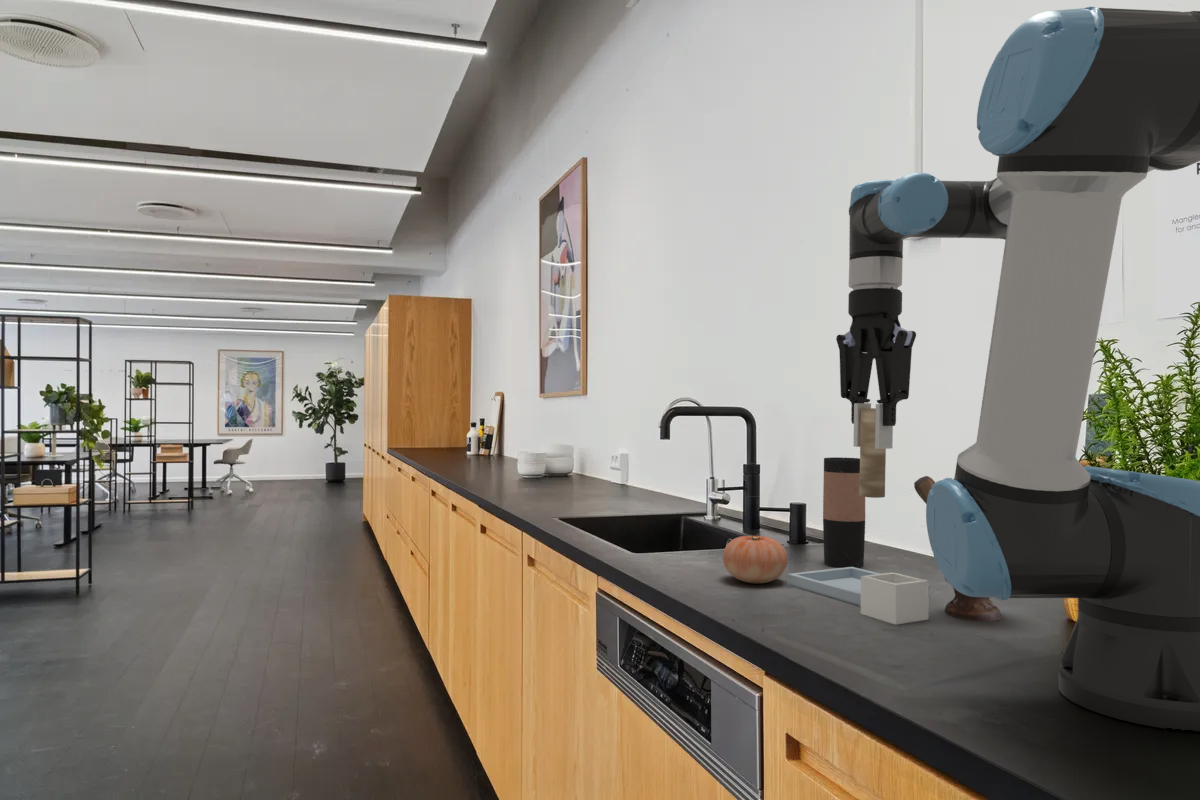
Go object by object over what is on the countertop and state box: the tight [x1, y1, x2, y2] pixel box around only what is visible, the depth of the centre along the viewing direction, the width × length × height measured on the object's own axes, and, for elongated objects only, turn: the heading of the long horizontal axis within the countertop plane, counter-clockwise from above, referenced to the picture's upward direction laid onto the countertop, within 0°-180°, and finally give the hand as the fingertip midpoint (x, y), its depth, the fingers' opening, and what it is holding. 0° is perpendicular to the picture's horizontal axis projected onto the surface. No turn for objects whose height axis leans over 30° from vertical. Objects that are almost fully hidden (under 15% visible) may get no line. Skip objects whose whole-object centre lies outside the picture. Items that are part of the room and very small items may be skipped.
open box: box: [860, 571, 930, 626], centre depth 110 cm, size 6×6×6 cm
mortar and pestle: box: [913, 475, 1003, 622], centre depth 111 cm, size 12×9×20 cm
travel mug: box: [822, 456, 866, 569], centre depth 151 cm, size 8×8×20 cm
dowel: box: [859, 407, 887, 499], centre depth 119 cm, size 4×4×13 cm
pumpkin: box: [722, 533, 788, 585], centre depth 135 cm, size 11×11×8 cm
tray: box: [786, 567, 881, 608], centre depth 125 cm, size 16×14×2 cm
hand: (872, 447), depth 119 cm, fingers closed on dowel, 3 cm apart
